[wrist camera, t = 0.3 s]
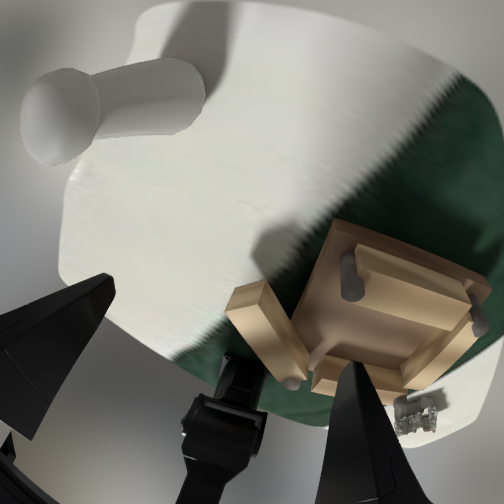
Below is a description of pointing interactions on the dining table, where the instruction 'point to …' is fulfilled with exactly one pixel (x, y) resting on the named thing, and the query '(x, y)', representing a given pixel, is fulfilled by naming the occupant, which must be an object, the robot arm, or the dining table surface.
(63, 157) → the salt shaker
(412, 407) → the grey jagged rock
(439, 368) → the wooden slat frame
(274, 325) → the hinged leg
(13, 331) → the robot arm
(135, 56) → the dining table surface
